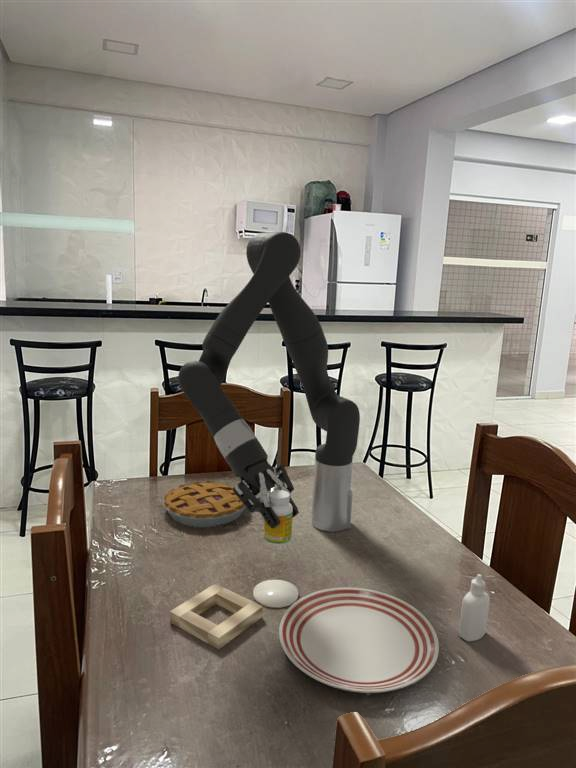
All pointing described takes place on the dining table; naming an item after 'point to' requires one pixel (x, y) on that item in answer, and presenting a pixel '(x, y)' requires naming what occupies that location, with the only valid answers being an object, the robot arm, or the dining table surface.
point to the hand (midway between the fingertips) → (285, 520)
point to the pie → (203, 504)
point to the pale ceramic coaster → (275, 593)
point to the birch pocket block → (207, 630)
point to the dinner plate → (359, 640)
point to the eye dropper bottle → (474, 611)
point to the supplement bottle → (284, 514)
